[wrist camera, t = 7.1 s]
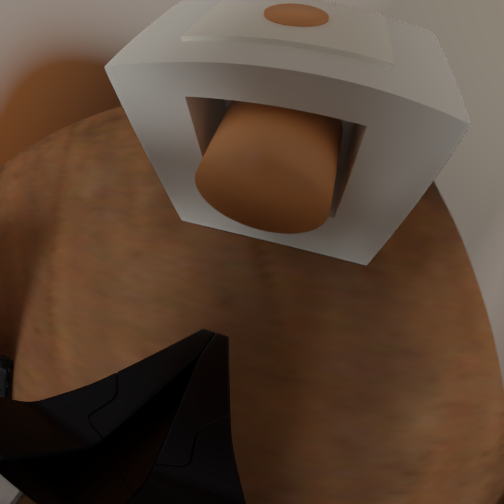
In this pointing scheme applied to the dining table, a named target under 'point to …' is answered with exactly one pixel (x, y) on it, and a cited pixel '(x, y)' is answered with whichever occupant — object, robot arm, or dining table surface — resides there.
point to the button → (271, 167)
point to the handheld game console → (5, 376)
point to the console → (297, 105)
